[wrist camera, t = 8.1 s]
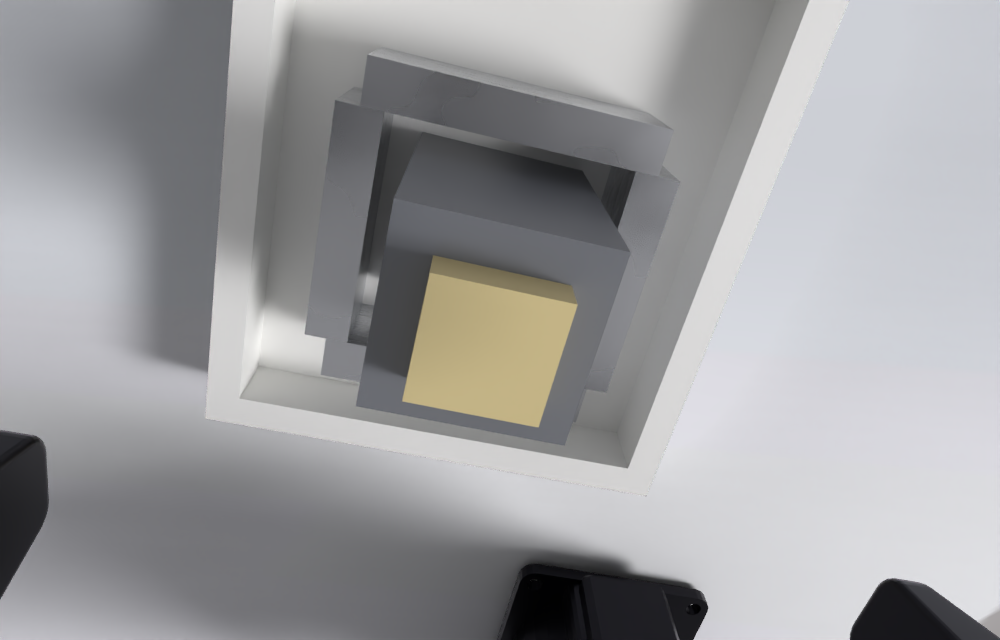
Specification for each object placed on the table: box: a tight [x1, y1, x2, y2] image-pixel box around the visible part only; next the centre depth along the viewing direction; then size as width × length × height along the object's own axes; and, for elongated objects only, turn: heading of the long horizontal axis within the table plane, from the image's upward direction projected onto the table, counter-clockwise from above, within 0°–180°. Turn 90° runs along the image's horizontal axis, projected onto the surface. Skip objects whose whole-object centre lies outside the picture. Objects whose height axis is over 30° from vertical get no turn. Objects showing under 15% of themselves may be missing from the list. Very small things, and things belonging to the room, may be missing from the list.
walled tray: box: [205, 0, 850, 496], centre depth 16 cm, size 14×12×2 cm
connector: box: [356, 132, 631, 446], centre depth 14 cm, size 4×4×7 cm
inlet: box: [305, 47, 680, 423], centre depth 16 cm, size 7×7×2 cm
